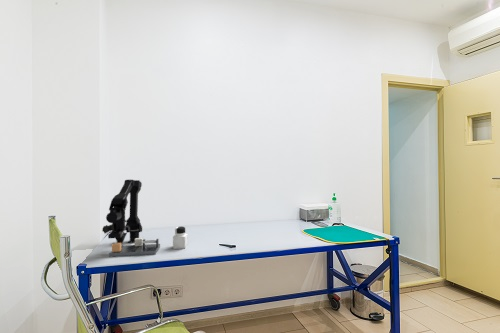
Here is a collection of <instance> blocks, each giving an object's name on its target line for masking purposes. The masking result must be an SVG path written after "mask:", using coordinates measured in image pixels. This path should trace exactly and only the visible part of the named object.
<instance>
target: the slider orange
mask: <svg viewBox="0 0 500 333" xmlns="http://www.w3.org/2000/svg"><path fill="white" fill-rule="evenodd" d="M111 251H112V252H120V251H121V243H117V242H113V243H112V244H111Z"/></svg>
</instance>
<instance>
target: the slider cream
mask: <svg viewBox="0 0 500 333" xmlns="http://www.w3.org/2000/svg"><path fill="white" fill-rule="evenodd" d="M143 239H144V237H139V238H136V239H135V242H134V245H135V246H142V245H143Z"/></svg>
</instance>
